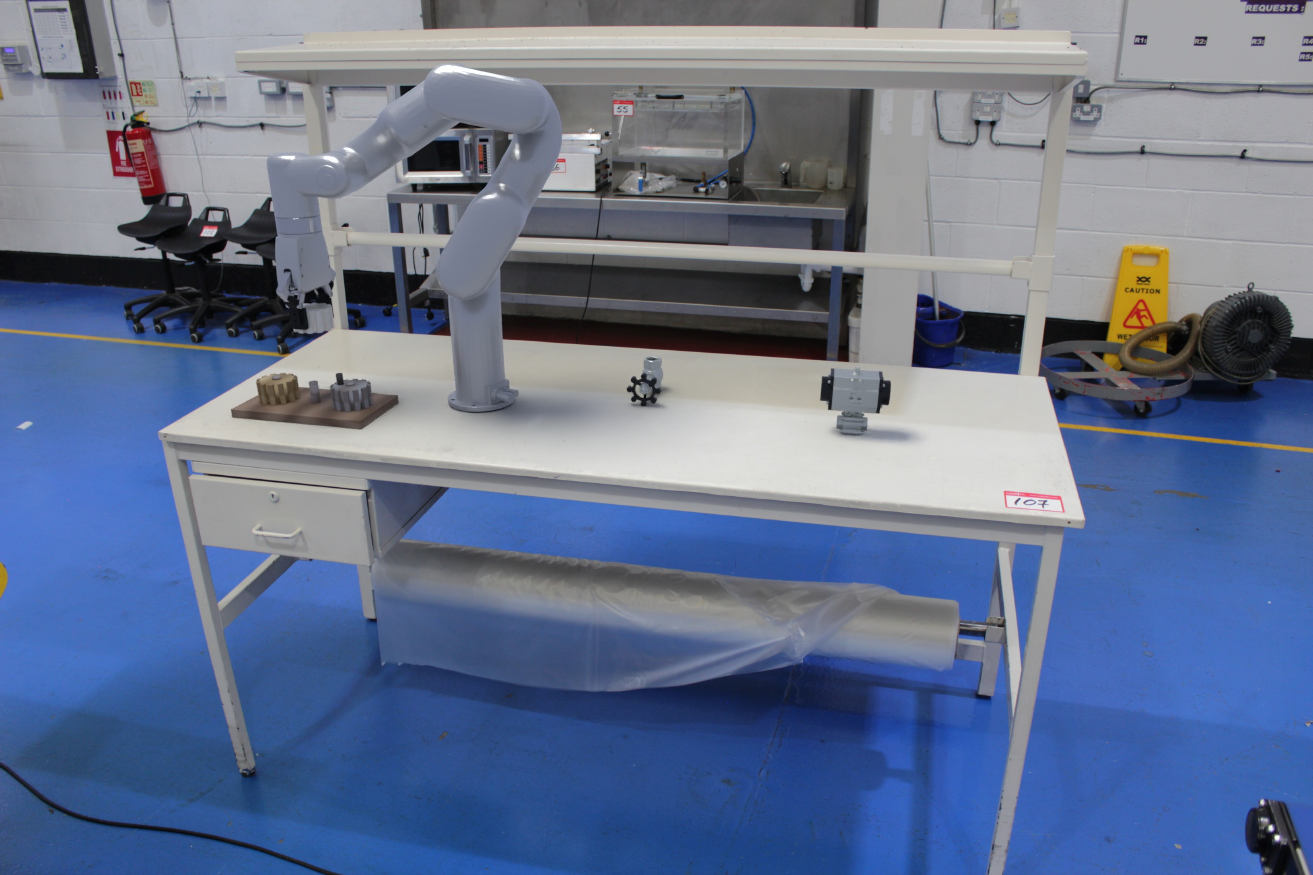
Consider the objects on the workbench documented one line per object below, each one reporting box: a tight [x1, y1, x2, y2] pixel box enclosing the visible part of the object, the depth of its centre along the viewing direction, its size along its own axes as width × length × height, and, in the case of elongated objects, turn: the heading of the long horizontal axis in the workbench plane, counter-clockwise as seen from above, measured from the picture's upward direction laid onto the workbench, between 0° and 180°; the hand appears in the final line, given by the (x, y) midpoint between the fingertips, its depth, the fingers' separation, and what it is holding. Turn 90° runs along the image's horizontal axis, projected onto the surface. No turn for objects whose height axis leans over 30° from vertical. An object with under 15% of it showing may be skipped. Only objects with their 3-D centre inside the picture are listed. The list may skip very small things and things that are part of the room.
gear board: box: [230, 372, 400, 430], centre depth 163 cm, size 26×14×8 cm, turn 78°
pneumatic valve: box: [819, 366, 892, 436], centre depth 153 cm, size 6×12×12 cm, turn 79°
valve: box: [626, 355, 664, 408], centre depth 172 cm, size 7×7×12 cm
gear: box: [293, 302, 335, 335], centre depth 162 cm, size 7×7×4 cm
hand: (313, 323), depth 162 cm, fingers closed on gear, 7 cm apart
